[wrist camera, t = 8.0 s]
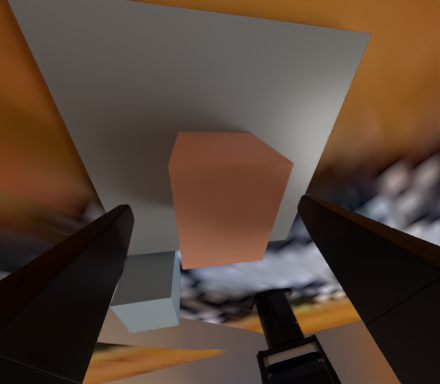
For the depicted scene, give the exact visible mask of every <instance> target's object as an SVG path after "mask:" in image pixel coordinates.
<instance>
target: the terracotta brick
mask: <svg viewBox="0 0 440 384" xmlns="http://www.w3.org/2000/svg"><path fill="white" fill-rule="evenodd" d="M293 165H294V163H293V162H291V161H290V160H289V159H287V158H286V157H284V156H283V155H282V154H280V153H279V152H278V151H276V150H275V149H273V148H272V147H271V146H269V145H268V144H266V143H265V142H264V141H262V140H261V139H259V138H258V137H257V136H255V135H254V134H252V133H250V132H189V131H178V134H177V138H176V141H175V144H174V148H173V151H172V154H171V158H170V161H169V164H168V168H169V175H170V182H171V189H172V196H173V203H174V210H175V217H176V223H177V230H178V237H179V244H180V251H181V258H182V265H183V269H190V268H198V267H207V266H215V265H223V264H232V263H240V262H249V261H257V260H262V259H263V256H264V253H265V250H266V247H267V244H268V241H269V238H270V235H271V232H272V229H273V226H274V223H275V220H276V217H277V214H278V211H279V208H280V205H281V202H282V199H283V196H284V193H285V189H286V186H287V183H288V180H289V177H290V174H291V171H292V168H293Z"/></svg>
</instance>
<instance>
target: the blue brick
mask: <svg viewBox="0 0 440 384" xmlns="http://www.w3.org/2000/svg"><path fill="white" fill-rule="evenodd" d="M180 288H181V273H180V268H179V262H178V256H177V251H168V252H158V253H148V254H138V255H129V257H128V259H127V262H126V265H125V267H124V270H123V273H122V275H121V278H120V281H119V283H118V286H117V289H116V291H115V294H114V297H113V299H112V302H111V305H110V308H111V309H112V310H113V311H114V313H115V314H116V315H117V316H118V318H119V319H120V320H121V321H122V323H123V324H124V325H125V326H126V328H127V329H128V330H129V331H130V332H131V333H135V332H140V331H146V330H152V329H158V328H164V327H169V326H175V325H178V324H179V307H180Z"/></svg>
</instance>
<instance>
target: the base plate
mask: <svg viewBox="0 0 440 384" xmlns="http://www.w3.org/2000/svg"><path fill="white" fill-rule="evenodd" d="M7 1H8V3H9V5H10V7H11V9H12V11H13V14H14V16H15V18H16V20H17V22H18V24H19V26H20V29H21V31H22V33H23V35H24V37H25V39H26V42H27V44H28V46H29V48H30V50H31V52H32V54H33V57H34V59H35V61H36V63H37V65H38V67H39V69H40V72H41V74H42V76H43V78H44V80H45V82H46V84H47V87H48V89H49V91H50V93H51V95H52V97H53V99H54V102H55V104H56V106H57V108H58V110H59V112H60V115H61V117H62V119H63V121H64V123H65V125H66V127H67V130H68V132H69V134H70V136H71V138H72V140H73V142H74V145H75V147H76V149H77V151H78V153H79V155H80V157H81V160H82V162H83V164H84V166H85V168H86V170H87V173H88V175H89V177H90V179H91V181H92V183H93V185H94V188H95V190H96V192H97V194H98V196H99V198H100V200H101V203H102V205H103V207H104V209H105V211H106V213H107V212H109V211H110V210H112V209H113V208H115V207H117V206H118V205H123V204H129V205H130V206H131V209H132V212H133V215H134V218H135V222H134V227H133V231H132V236H131V240H130V245H129V249H128V253H127V256H128V255H138V254H148V253H158V252H168V251H178V250H180V244H179V237H178V230H177V223H176V217H175V210H174V203H173V196H172V189H171V182H170V175H169V168H168V164H169V161H170V158H171V154H172V151H173V148H174V144H175V141H176V138H177V134H178V131H189V132H250V133H252V134H254V135H255V136H257V137H258V138H259V139H261V140H262V141H264V142H265V143H266V144H268V145H269V146H271V147H272V148H273V149H275V150H276V151H278V152H279V153H280V154H282V155H283V156H284V157H286V158H287V159H289V160H290V161H291V162H293V163H294V165H293V168H292V171H291V174H290V177H289V180H288V183H287V186H286V189H285V193H284V196H283V199H282V202H281V205H280V208H279V211H278V214H277V217H276V220H275V223H274V226H273V229H272V232H271V235H270V238H269V241H276V240H286V238H287V235H288V233H289V230H290V228H291V226H292V223H293V221H294V219H295V216H296V214H297V211H298V210H297V206H298V203H299V201H300V198H301V196H302V195H305V192H306V190H307V187H308V185H309V183H310V180H311V178H312V175H313V173H314V171H315V168H316V166H317V164H318V161H319V159H320V156H321V154H322V152H323V149H324V147H325V144H326V142H327V140H328V137H329V135H330V132H331V130H332V128H333V125H334V123H335V120H336V118H337V116H338V113H339V111H340V109H341V106H342V104H343V101H344V99H345V97H346V94H347V92H348V89H349V87H350V85H351V82H352V80H353V77H354V75H355V73H356V70H357V68H358V65H359V63H360V61H361V58H362V56H363V54H364V51H365V49H366V46H367V44H368V42H369V39H370V37H371V34H372V33H365V32H357V31H350V30H343V29H335V28H328V27H321V26H313V25H306V24H298V23H291V22H284V21H276V20H269V19H262V18H254V17H247V16H239V15H232V14H225V13H217V12H210V11H203V10H195V9H188V8H181V7H173V6H166V5H158V4H151V3H144V2H136V1H129V0H7Z"/></svg>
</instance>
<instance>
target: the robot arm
mask: <svg viewBox="0 0 440 384" xmlns="http://www.w3.org/2000/svg"><path fill="white" fill-rule="evenodd" d="M297 210H298V212H299V214H300V216H301V219H302V221H303V223H304V225H305V227H306V229H307V231H308V233H309V234H310V236H311V238H312V240H313V241H314V243H315V244H316V246H317V248H318V249H319V251H320V253H321V254H322V256H323V257H324V259H325V261H326V262H327V264H328V265H329V267H330V269H331V270H332V272H333V274H334V275H335V277H336V278H337V280H338V282H339V283H340V285H341V287H342V288H343V290H344V291H345V293H346V295H347V296H348V298H349V300H350V301H351V303H352V304H353V306H354V308H355V309H356V311H357V313H358V314H359V316H360V317H361V319H362V321H363V322H364V324H365V326H366V327H367V329H368V331H369V332H370V334H371V336H372V337H373V339H374V340H375V342H376V344H377V345H378V347H379V349H380V350H381V352H382V353H383V355H384V357H385V358H386V360H387V362H388V363H389V365H390V366H391V368H392V370H393V371H394V373H395V375H396V376H397V378H398V379H399V381H400V383H401V384H440V246H438V245H435V244H433V243H430V242H427V241H425V240H422V239H420V238H417V237H415V236H412V235H409V234H407V233H404V232H402V231H399V230H397V229H395V228H391V227H389V226H387V225H385V224H382V223H380V222H377V221H375V220H372V219H370V218H367V217H365V216H362V215H360V214H357V213H355V212H352V211H350V210H347V209H345V208H343V207H340V206H338V205H335V204H333V203H330V202H328V201H325V200H323V199H320V198H318V197H315V196H313V195H310V194H308V195H302V196H301V198H300V201H299V203H298V206H297ZM134 222H135V218H134V215H133V212H132V209H131V206H130V205H129V204H123V205H118V206H117V207H115V208H113V209H112V210H110V211H109V212H107V213H106V214H104V215H102V216H101V217H99V218H98V219H96V220H95V221H93V222H91V223H90V224H88V225H87V226H85V227H84V228H82V229H80V230H79V231H77V232H76V233H74V234H73V235H71V236H69V237H68V238H66V239H65V240H63V241H62V242H60V243H58V244H57V245H55V246H54V247H52V248H51V249H49V250H47V251H46V252H44V253H43V254H41V255H40V256H38V257H36V258H35V259H33V260H32V261H30V262H29V263H28V264H27V265H24V266H22V267H21V268H19V269H17V270H16V271H14V272H13V273H11V274H10V275H8V276H6V277H5V278H3V279H2V280H0V384H82V383H83V380H84V377H85V374H86V371H87V369H88V366H89V363H90V360H91V357H92V354H93V351H94V348H95V345H96V343H97V340H98V337H99V334H100V331H101V328H102V325H103V322H104V319H105V317H106V314H107V311H108V308H109V305H110V302H111V299H112V296H113V293H114V291H115V288H116V285H117V282H118V279H119V276H120V273H121V270H122V268H123V265H124V262H125V259H126V256H127V253H128V249H129V245H130V240H131V236H132V231H133V227H134ZM292 293H293V292H292V290H291V289H288V290H281V291H275V292H268V293H262V294H257V295H256V297H255V299H254V302H253V305H252V308H251V313H255V312H258V316H259V319H260V322H261V326H262V329H263V332H264V336H265V339H266V342H267V346H268V350H265V351H259V352H258V353H259V354H257V359H258V364H259V368H260V372H261V379H262V384H341V382H340V380H339V378H338V376H337V374H336V372H335V370H334V369H333V367H332V365H331V363H330V361H329V360H328V358H327V356H326V354H325V352H324V350H323V348H322V347H321V345H320V343H319V341H318V339H317V337H316V336H315V334H314V335H311V337H307V338H305V337H304V334H303V332H302V330H301V328H300V326H299V324H298V321H297V319H296V317H295V315H294V313H293V311H292V308H291V306H290V304H289V302H288V299H289V298H290V296H291V294H292ZM312 348H315V351H316V352H311V353H307V354H304V355H301V356H298V357H294V358H291V359H288V360H284V361H281V362H278V363H274V364H271V365H270V364H269V361H272V360H276V359H279V358H282V357H286V356H289V355H292V354H296V353H299V352H302V351H305V350H309V349H312Z"/></svg>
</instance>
